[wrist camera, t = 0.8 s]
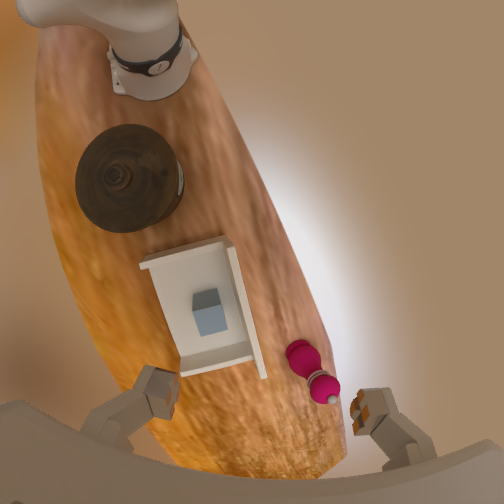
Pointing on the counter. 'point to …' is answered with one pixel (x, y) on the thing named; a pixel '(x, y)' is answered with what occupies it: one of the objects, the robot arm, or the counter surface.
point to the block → (208, 312)
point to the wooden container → (128, 179)
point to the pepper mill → (313, 372)
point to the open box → (181, 297)
